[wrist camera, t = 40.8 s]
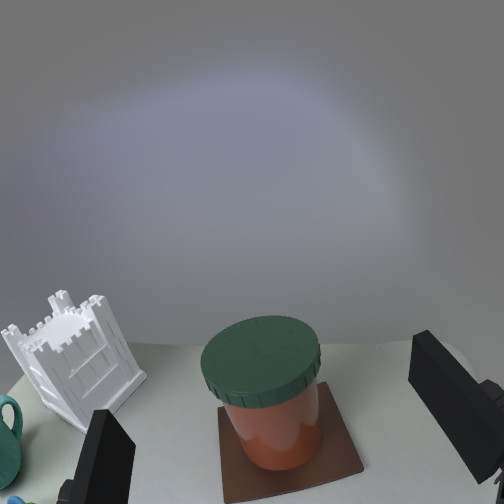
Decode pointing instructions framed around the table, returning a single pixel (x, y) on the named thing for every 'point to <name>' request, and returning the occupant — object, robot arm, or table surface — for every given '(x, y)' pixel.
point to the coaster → (302, 477)
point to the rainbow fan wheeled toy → (16, 500)
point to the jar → (280, 430)
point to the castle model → (77, 359)
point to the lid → (261, 361)
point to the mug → (10, 443)
